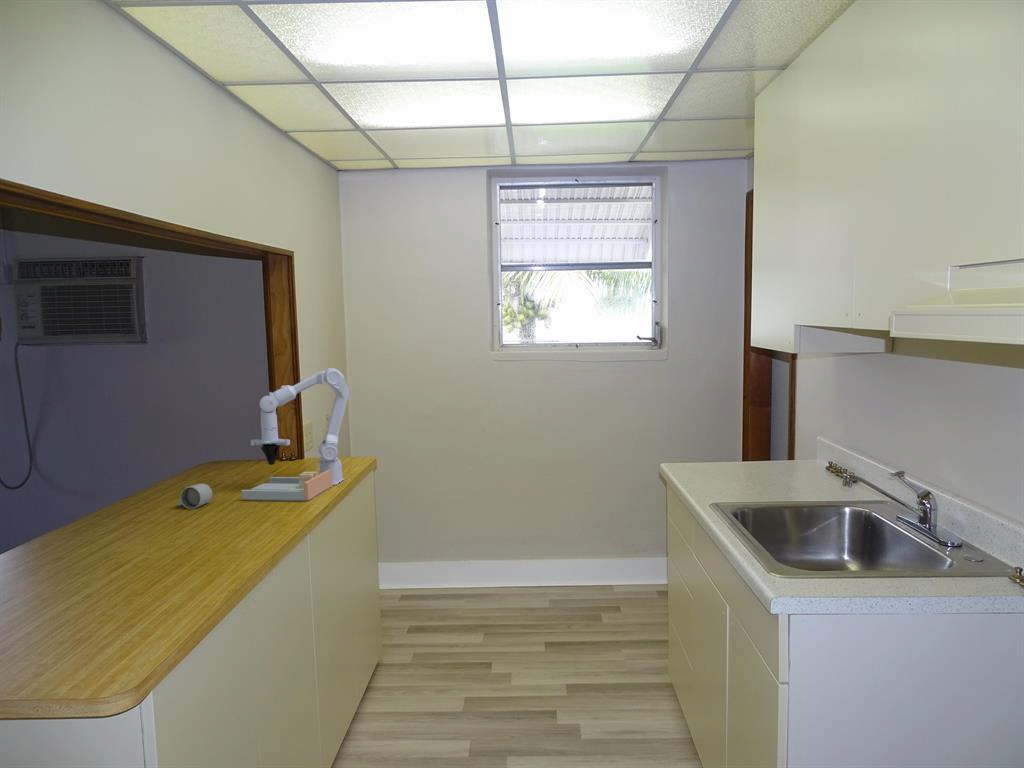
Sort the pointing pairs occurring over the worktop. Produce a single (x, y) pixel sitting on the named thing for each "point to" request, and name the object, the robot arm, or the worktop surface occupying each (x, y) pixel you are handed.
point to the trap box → (289, 488)
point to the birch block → (306, 477)
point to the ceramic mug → (195, 496)
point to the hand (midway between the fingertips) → (271, 464)
